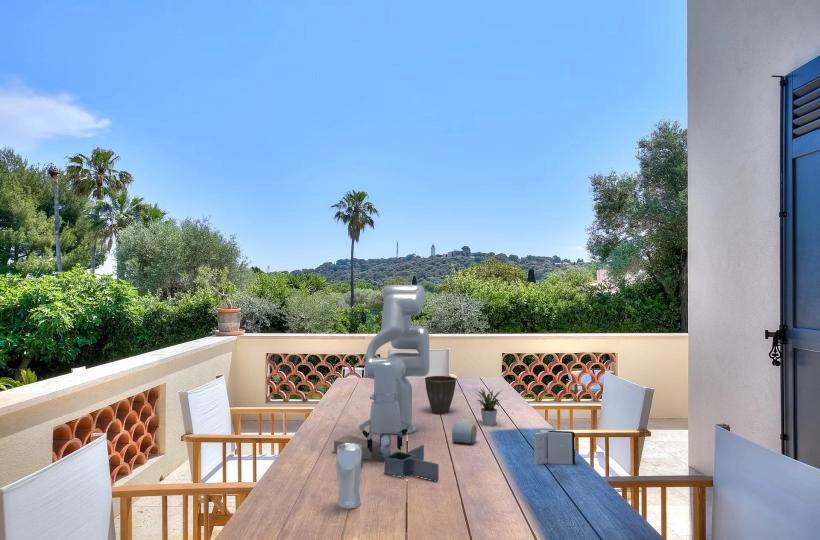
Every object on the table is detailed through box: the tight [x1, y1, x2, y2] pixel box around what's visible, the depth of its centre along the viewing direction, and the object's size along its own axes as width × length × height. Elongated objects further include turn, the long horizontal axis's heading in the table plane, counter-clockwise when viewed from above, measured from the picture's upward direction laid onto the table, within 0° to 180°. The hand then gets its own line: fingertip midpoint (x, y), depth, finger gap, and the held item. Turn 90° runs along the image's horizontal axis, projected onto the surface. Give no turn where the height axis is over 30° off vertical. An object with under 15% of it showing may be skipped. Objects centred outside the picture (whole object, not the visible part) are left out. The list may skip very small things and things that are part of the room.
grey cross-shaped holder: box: [384, 444, 440, 482], centre depth 155 cm, size 17×17×5 cm
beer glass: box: [335, 443, 364, 510], centre depth 130 cm, size 7×7×15 cm
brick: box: [333, 434, 379, 461], centre depth 173 cm, size 16×8×5 cm, turn 59°
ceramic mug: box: [451, 420, 478, 445], centre depth 187 cm, size 11×8×8 cm
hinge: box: [533, 429, 576, 466], centre depth 164 cm, size 14×5×10 cm, turn 92°
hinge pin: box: [378, 434, 392, 463], centre depth 165 cm, size 5×5×11 cm
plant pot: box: [424, 375, 457, 415], centre depth 234 cm, size 15×15×16 cm
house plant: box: [476, 387, 503, 426], centre depth 213 cm, size 14×14×16 cm
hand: (384, 449), depth 165 cm, fingers open, 9 cm apart
